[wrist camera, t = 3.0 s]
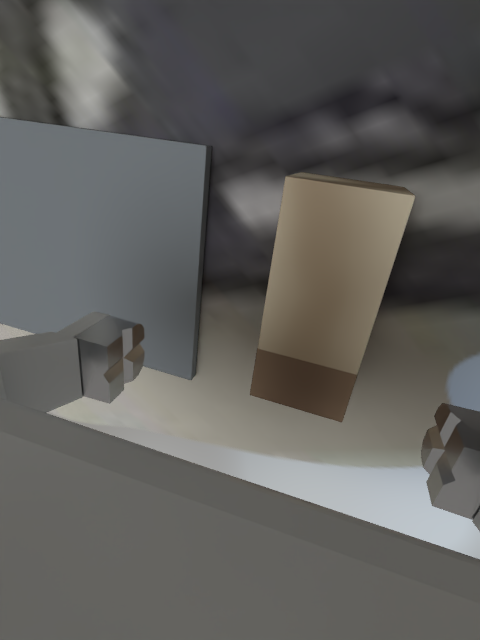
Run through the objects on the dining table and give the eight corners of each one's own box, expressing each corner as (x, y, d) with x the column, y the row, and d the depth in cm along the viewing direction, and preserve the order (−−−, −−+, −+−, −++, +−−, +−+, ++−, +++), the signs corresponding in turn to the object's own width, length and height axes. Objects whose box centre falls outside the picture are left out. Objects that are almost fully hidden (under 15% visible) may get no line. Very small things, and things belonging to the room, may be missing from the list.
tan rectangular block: (404, 187, 14) (415, 196, 11) (345, 376, 18) (342, 422, 15) (301, 172, 15) (285, 176, 11) (268, 355, 19) (249, 394, 16)
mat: (211, 146, 15) (206, 145, 15) (195, 374, 21) (190, 380, 20) (-70, 107, 19) (-83, 106, 18) (-21, 311, 24) (-29, 314, 24)
